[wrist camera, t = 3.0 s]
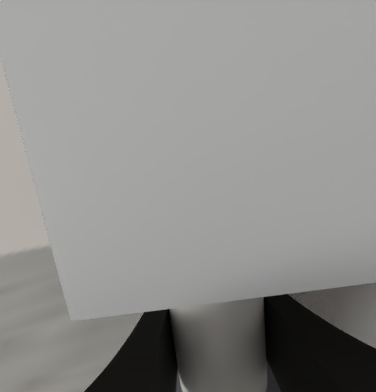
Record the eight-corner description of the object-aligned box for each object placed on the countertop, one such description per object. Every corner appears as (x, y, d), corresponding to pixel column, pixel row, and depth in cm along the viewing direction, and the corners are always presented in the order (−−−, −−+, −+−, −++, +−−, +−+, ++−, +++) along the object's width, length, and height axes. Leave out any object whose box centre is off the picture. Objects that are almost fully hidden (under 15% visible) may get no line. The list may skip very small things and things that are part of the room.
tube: (112, -12, 8) (54, -139, 4) (242, -26, 9) (304, -165, 4) (180, 413, 13) (182, 543, 9) (265, 402, 13) (304, 526, 9)
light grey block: (87, 4, 9) (-73, -216, 3) (267, -16, 9) (427, -264, 3) (126, 218, 11) (71, 321, 5) (274, 200, 11) (382, 281, 5)
